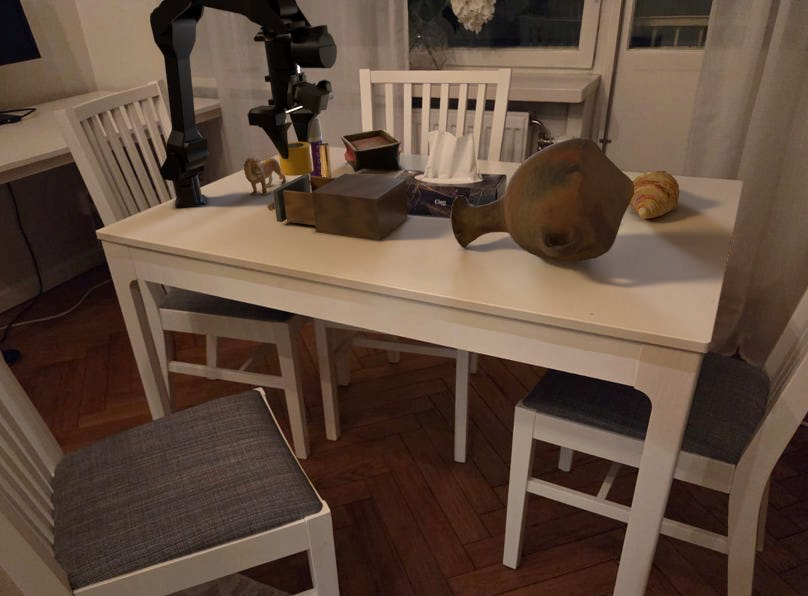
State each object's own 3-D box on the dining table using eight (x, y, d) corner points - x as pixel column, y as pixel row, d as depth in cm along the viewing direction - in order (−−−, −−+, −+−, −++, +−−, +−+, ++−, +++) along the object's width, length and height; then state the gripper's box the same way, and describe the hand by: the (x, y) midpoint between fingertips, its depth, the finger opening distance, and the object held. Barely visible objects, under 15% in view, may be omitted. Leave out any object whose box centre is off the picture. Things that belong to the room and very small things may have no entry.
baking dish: (350, 185, 156) (351, 146, 149) (338, 157, 169) (339, 119, 163) (406, 183, 159) (409, 144, 152) (391, 155, 172) (393, 118, 165)
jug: (644, 251, 108) (483, 252, 124) (648, 131, 103) (479, 148, 119) (614, 273, 92) (435, 270, 108) (617, 132, 86) (427, 151, 103)
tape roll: (280, 169, 128) (276, 143, 125) (311, 165, 129) (308, 140, 126) (283, 177, 123) (279, 150, 120) (315, 173, 124) (312, 146, 121)
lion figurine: (263, 200, 143) (257, 160, 138) (243, 199, 145) (236, 159, 140) (290, 181, 155) (285, 143, 150) (271, 180, 156) (265, 143, 152)
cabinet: (316, 231, 124) (311, 192, 120) (347, 210, 134) (344, 173, 130) (378, 240, 119) (376, 199, 115) (407, 218, 129) (406, 179, 124)
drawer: (260, 219, 130) (255, 188, 127) (292, 201, 139) (288, 172, 135) (332, 229, 123) (329, 196, 120) (360, 210, 132) (358, 179, 128)
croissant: (657, 242, 120) (686, 208, 115) (612, 213, 121) (639, 179, 115) (665, 204, 136) (691, 173, 131) (625, 179, 137) (649, 147, 131)
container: (323, 185, 151) (316, 120, 143) (304, 185, 152) (297, 120, 143) (328, 179, 154) (322, 115, 146) (310, 179, 155) (303, 115, 147)
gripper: (291, 76, 105) (303, 170, 114) (346, 60, 119) (353, 145, 128) (239, 76, 110) (254, 166, 118) (297, 61, 124) (307, 142, 132)
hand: (295, 154), depth 124 cm, fingers closed on tape roll, 6 cm apart
